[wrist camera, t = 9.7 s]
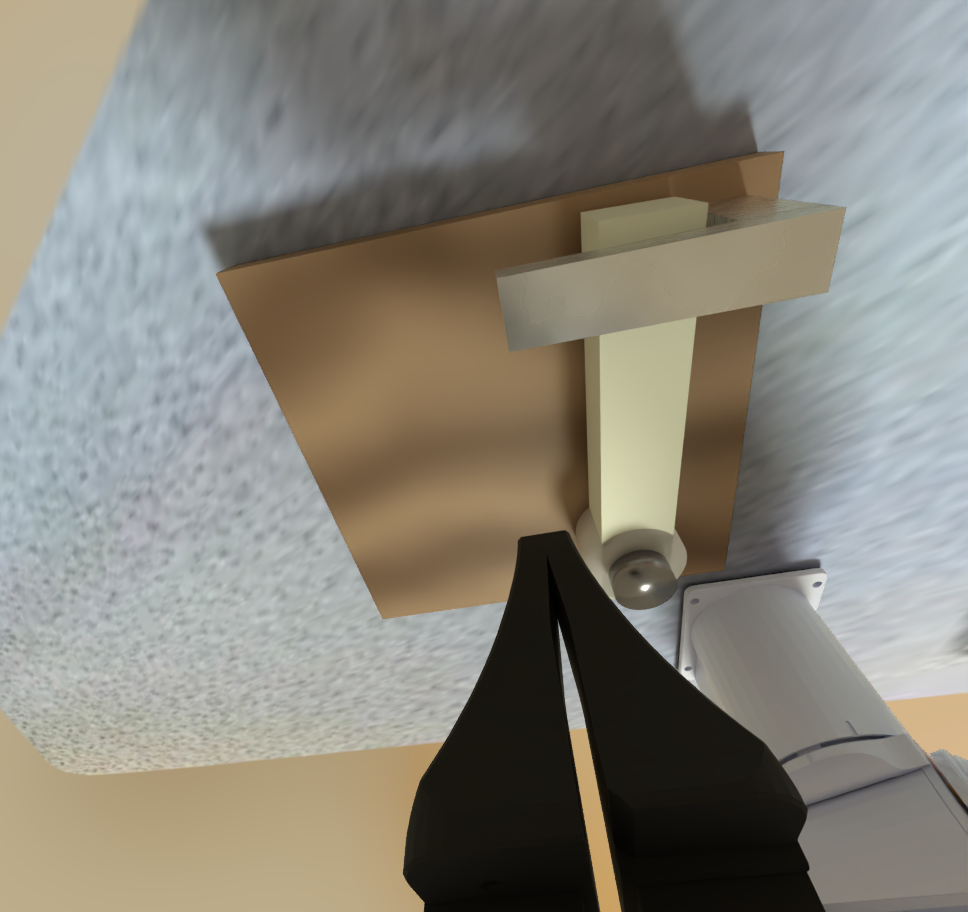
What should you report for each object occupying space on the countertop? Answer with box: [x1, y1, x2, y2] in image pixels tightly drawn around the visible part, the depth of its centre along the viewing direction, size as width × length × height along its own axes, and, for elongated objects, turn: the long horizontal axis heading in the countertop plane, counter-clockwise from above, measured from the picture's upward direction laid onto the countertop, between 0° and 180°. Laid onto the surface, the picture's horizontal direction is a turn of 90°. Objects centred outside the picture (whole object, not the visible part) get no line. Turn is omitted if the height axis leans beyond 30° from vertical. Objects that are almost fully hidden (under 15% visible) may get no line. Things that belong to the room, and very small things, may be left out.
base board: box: [216, 151, 784, 619], centre depth 21 cm, size 19×19×2 cm
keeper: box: [495, 195, 846, 352], centre depth 14 cm, size 2×8×5 cm, turn 101°
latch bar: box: [576, 196, 708, 599], centre depth 18 cm, size 16×4×2 cm, turn 8°
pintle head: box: [608, 550, 677, 610], centre depth 20 cm, size 3×3×1 cm
